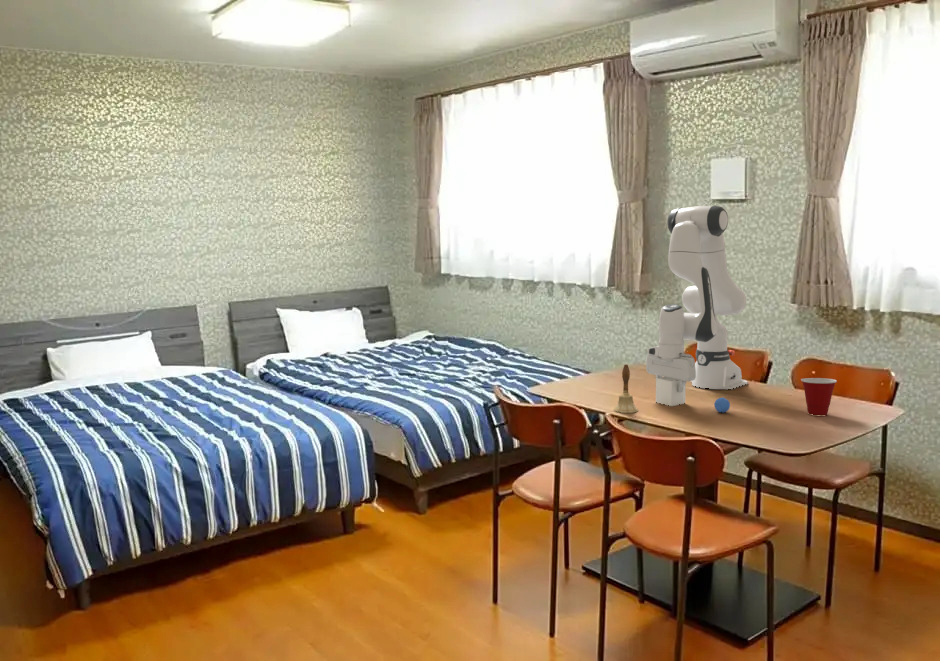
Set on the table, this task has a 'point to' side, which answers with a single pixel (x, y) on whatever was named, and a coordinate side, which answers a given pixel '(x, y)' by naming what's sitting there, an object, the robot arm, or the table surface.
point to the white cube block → (669, 391)
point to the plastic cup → (818, 394)
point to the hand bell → (625, 395)
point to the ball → (722, 405)
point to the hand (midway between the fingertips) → (670, 389)
